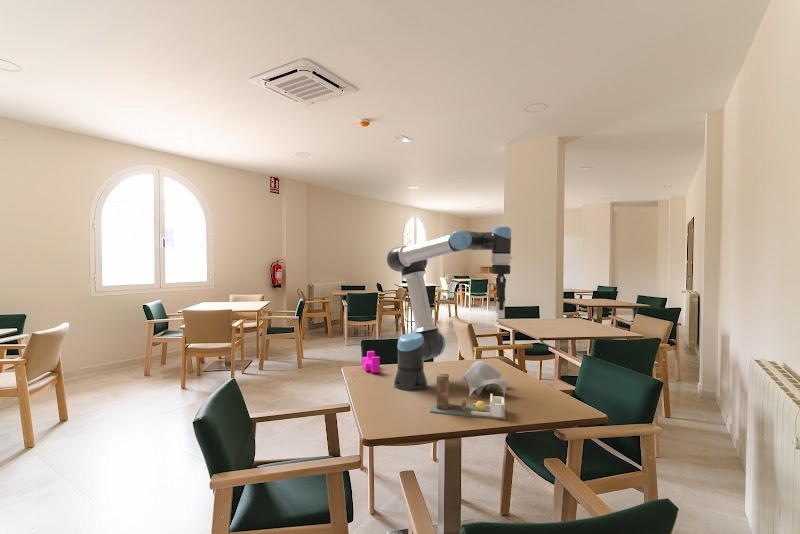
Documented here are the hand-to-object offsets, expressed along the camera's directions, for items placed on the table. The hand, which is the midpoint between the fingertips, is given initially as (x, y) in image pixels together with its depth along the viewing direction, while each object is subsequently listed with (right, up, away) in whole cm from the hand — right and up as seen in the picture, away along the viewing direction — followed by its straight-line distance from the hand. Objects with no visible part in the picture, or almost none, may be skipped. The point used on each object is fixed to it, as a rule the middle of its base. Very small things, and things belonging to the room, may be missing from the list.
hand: (500, 315), depth 165 cm
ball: (-12, -31, -18) cm, 38 cm away
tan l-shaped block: (-22, -33, -15) cm, 42 cm away
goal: (-6, -33, -19) cm, 39 cm away
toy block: (-57, -33, +42) cm, 78 cm away
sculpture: (-5, -34, +10) cm, 36 cm away
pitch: (-16, -34, -17) cm, 41 cm away
